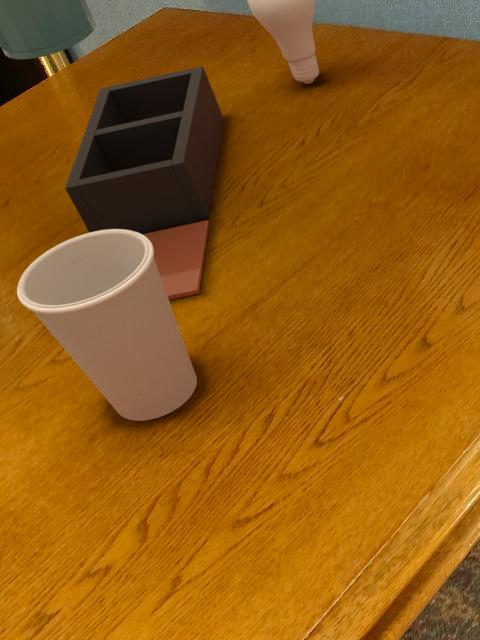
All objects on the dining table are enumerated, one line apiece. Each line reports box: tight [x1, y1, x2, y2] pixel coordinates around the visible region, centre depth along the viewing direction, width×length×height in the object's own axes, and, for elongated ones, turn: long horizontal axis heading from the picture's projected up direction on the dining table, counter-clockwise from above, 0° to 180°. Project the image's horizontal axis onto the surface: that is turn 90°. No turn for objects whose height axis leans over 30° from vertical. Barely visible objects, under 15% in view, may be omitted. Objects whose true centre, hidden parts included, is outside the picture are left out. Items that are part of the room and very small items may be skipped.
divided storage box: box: [64, 65, 225, 234], centre depth 87 cm, size 10×18×5 cm, turn 8°
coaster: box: [141, 219, 211, 301], centre depth 78 cm, size 10×10×1 cm
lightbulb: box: [246, 0, 320, 85], centre depth 93 cm, size 6×6×11 cm
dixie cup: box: [16, 229, 198, 422], centre depth 64 cm, size 8×8×10 cm
